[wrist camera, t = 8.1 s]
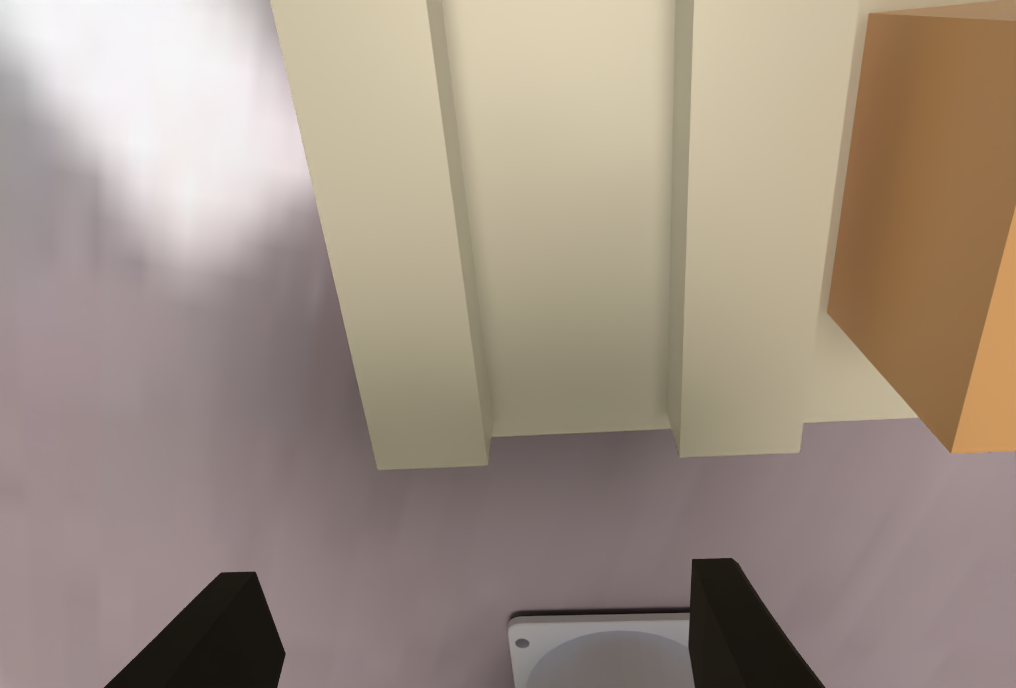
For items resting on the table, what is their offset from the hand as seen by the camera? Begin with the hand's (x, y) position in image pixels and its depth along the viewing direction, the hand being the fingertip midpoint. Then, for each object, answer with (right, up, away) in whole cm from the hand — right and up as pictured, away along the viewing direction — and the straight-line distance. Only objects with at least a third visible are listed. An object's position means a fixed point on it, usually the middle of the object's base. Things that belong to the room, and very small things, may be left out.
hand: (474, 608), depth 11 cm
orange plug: (+10, +8, +4) cm, 14 cm away
